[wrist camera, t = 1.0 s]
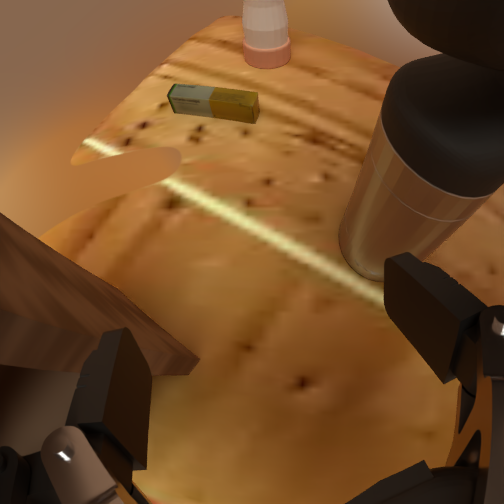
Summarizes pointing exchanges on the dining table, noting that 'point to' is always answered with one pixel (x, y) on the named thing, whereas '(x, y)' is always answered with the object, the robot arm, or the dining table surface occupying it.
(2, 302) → the walnut stand
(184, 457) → the dining table surface
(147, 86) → the dining table surface
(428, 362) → the robot arm
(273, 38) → the pepper shaker
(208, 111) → the medication box
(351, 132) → the dining table surface
